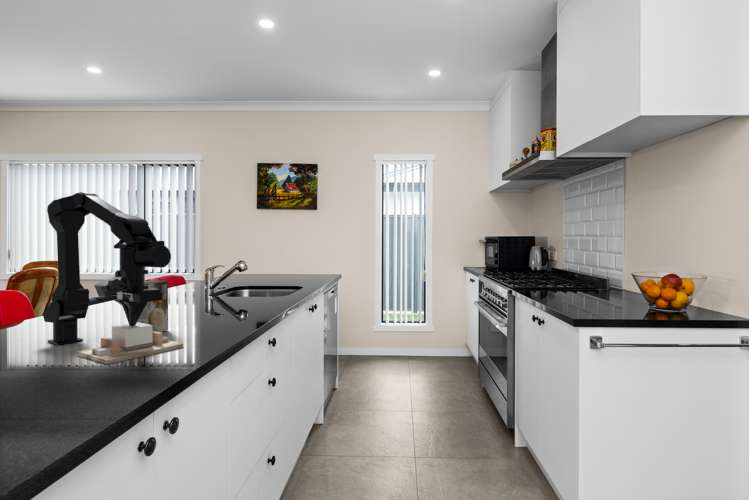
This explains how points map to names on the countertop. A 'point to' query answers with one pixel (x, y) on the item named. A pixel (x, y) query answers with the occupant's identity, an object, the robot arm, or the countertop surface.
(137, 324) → the block
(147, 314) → the coffee box
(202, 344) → the countertop surface
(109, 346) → the rail board
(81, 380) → the countertop surface
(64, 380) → the countertop surface
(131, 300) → the robot arm
